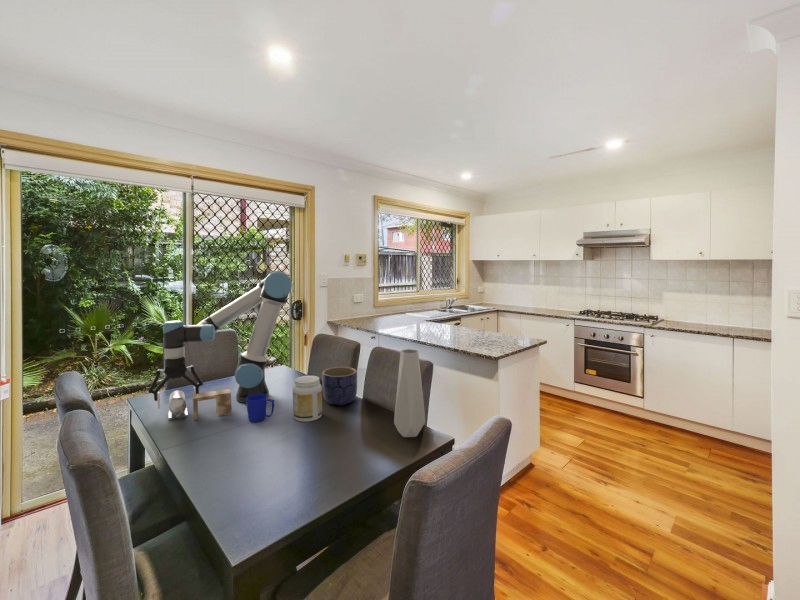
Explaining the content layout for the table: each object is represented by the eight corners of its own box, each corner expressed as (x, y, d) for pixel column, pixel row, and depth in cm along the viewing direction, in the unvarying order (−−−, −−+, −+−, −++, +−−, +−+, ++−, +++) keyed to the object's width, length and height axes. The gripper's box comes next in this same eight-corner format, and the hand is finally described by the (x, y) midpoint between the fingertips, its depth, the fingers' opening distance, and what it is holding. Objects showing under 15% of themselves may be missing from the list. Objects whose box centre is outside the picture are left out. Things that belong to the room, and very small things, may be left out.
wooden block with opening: (229, 408, 171) (229, 388, 170) (231, 413, 166) (230, 392, 165) (193, 415, 163) (192, 394, 162) (194, 420, 158) (193, 398, 157)
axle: (184, 402, 171) (184, 389, 171) (185, 413, 159) (186, 399, 158) (169, 404, 168) (169, 391, 168) (169, 415, 155) (169, 401, 155)
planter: (364, 399, 183) (364, 369, 182) (341, 410, 169) (341, 378, 168) (338, 393, 192) (338, 364, 191) (315, 403, 178) (314, 372, 177)
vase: (388, 429, 150) (388, 349, 147) (414, 425, 154) (415, 346, 151) (400, 443, 139) (400, 356, 136) (428, 437, 143) (429, 353, 140)
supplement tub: (312, 409, 171) (312, 372, 169) (327, 417, 162) (327, 378, 161) (288, 416, 162) (287, 378, 161) (302, 425, 154) (301, 385, 152)
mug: (269, 425, 154) (268, 401, 153) (242, 422, 156) (241, 399, 155) (279, 417, 162) (278, 394, 161) (254, 415, 164) (253, 392, 163)
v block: (186, 410, 169) (186, 403, 169) (187, 416, 162) (187, 410, 161) (168, 413, 166) (168, 406, 165) (168, 420, 158) (168, 413, 158)
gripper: (206, 351, 171) (208, 396, 173) (140, 358, 158) (143, 407, 160) (208, 355, 164) (210, 401, 166) (139, 362, 151) (142, 413, 154)
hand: (177, 404), depth 163 cm, fingers open, 13 cm apart
